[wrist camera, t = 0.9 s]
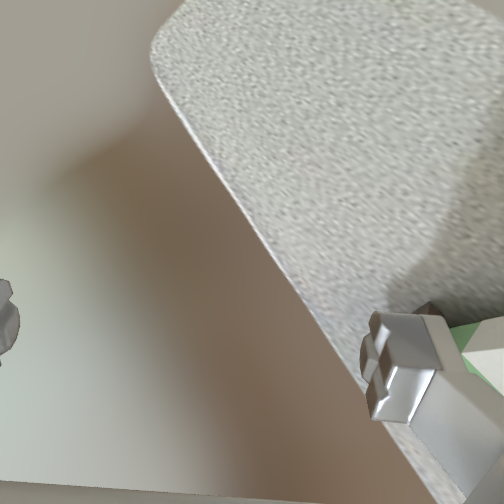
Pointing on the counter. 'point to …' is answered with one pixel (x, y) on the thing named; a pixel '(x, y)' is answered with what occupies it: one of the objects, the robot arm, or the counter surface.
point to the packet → (483, 349)
